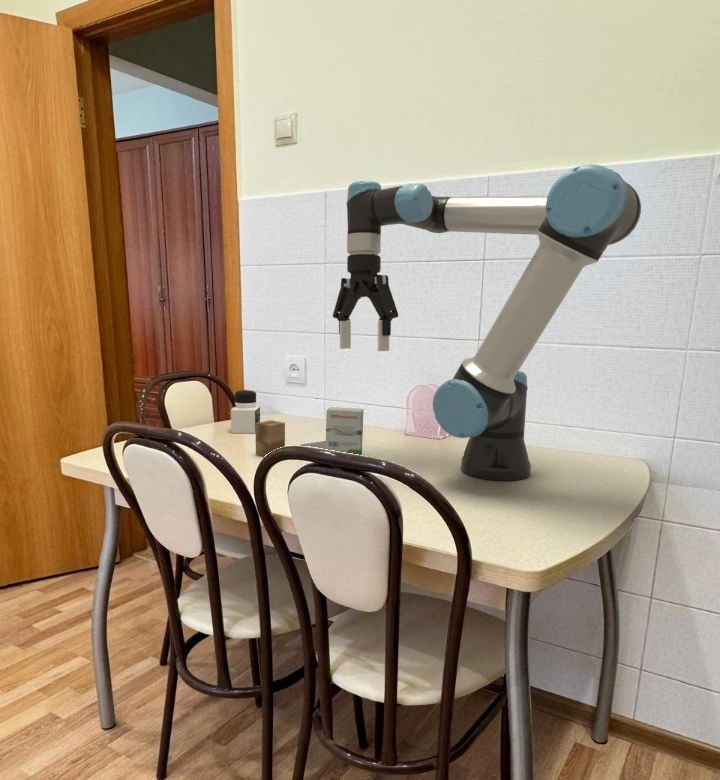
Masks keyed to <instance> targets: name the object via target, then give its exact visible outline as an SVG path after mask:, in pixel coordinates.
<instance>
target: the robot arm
mask: <svg viewBox="0 0 720 780" xmlns="http://www.w3.org/2000/svg"><path fill="white" fill-rule="evenodd" d="M346 197H347V200H346V212H347V213H346V214H347V215H346V217H347V235H346V237H347V238H346V252H347V253H348V256H347V258H346V259H347V260H346V261H347V264H346V268H347V273H348V274H350V278H348V277H345V278H344V277H342V278H341V280H340V289H339V292H338V296H337V299H336V302H335V306H334V309H333V312H332V318H334V319H336V320H337V321H338V335H339V349H341V350H345V349H351V348H352V347H351V346H352V345H351V343H352V339H351V337H352V336H351V335H352V334H351V333H352V332H351V331H352V330H351V329H352V328H351V327H352V326H351V325H352V322H351V319H350V318H351V315H352V313H353V312H354V310H355V307H356V305H357V303H358V301H359V300H360V299H362V298H365V297H366V298H368V299H369V300H370V302H371V304H372V306H373V308H374V310H375V311H376V314H377V316H378V317H379V318H378V320H377V352H389V351H390V336H391V334H392V333H391V331H392V330H391V328H392V321H393V319H397V318H398V317H399V313H398V309H397V306H396V303H395V300H394V298H393V295H392V290H391V288H390V284H389V275H385V274H379V273H380V272H381V268H382V267H381V263H382V262H381V260H382V259H381V256H380V255H379V254H380V253H381V251H382V250H381V242H382V239H381V236H382V226H383V227H384V226H392V225H405V226H408V227H412V228H417V229H420V230H421V229H422V230H425V231H428V232H430V233H432V234H434V233H435V234H444V233H447V232H450V233H452V232H456V233H457V232H458V233H460V232H461V233H480V234H483V233H484V234H485V233H486V234H504V235H505V234H507V235H533V236H534V235H537V237H538V240H539V244H538V245H539V246H538V247H537V249H536V250H535V252H534V254H533V255H532V258H530V261H529V262H528V264H527V266H526V267H525V269H524V270H523V273H522V274H521V276H520V278H519V280H518V281H517V282H516V285H515V286H514V288H513V290H512V291H511V293H510V294H509V297H508V298H507V300H506V302H505V304H504V305H503V307H502V309H501V310H500V312H499V314H497V317H496V319H495V321H494V323H493V324H492V326H491V328H490V330H489V331H488V333H487V335H486V336H485V338H484V339H483V341H482V343H481V345H480V347H479V348H478V350H477V351H476V353H475V355H474V356H472V357H467V358H465V359H463V361H461V364H460V365H459V367H458V369H457V370H456V372H455V373H454V375H453V378H452V379H448V380H446V381H444V382H443V383H442V384H440V386H439V387H438V388H437V389H436V391H435V392H434V395H433V400H432V410H433V412H434V417H435V420H436V421H437V424H438V425H439V427H440V428H441V429H442V430H443V431H444V432H446V434H448V435H450V436H451V437H455V438H460V439H468V438H469V439H468V441H467V444H466V446H465V450H464V451H463V456H462V457H461V462H460V470H461V471H462V472H463V473H464V474H466V475H469V476H471V477H474V478H477V479H478V478H479V479H485V480H492V481H517V480H524V479H526V478H529V477H530V476H531V470H532V469H531V468H532V467H531V465H532V463H531V462H530V459H529V455H528V449H527V446H526V442H525V427H526V411H527V398H528V397H527V396H528V393H527V392H528V389H529V388H528V376H527V374H526V373H525V372H523V371H520V369H521V367H522V366H523V365H524V362H525V361H526V359H527V358H528V356H529V355H530V353H531V351H532V350H533V348H534V347H535V345H536V344H537V342H538V340H539V339H540V337H541V335H542V334H543V333H544V331H545V330H546V327H547V326H548V325H549V323H550V321H551V319H552V318H553V317H554V315H555V314H556V312H557V311H558V308H559V307H560V306H561V304H562V302H563V301H564V299H565V298H566V296H567V294H568V293H569V291H570V290H571V288H572V286H573V285H574V283H575V281H576V279H577V278H578V276H579V275H580V274H581V272H582V270H583V269H584V268H585V267H586V266H589V265H593V264H596V263H598V262H599V260H600V259H601V257H602V256H603V254H604V252H605V251H606V249H607V248H608V246H610V245H611V246H612V245H615V244H617V243H619V242H621V241H623V240H624V239H626V238H627V237H628V236H630V235H631V234H632V232H633V231H634V230H635V229H636V226H637V225H638V223H639V220H640V218H641V214H642V204H641V199H640V196H639V194H638V193H637V190H636V189H635V188H633V186H632V185H631V184H629V183H628V182H627V181H625V179H624V178H623V177H622V176H621V175H620V174H619V172H617V171H614V170H613V169H611V168H608V167H606V166H602V165H600V164H594V163H593V164H583V165H582V164H581V165H579V166H576V167H574V168H571V169H569V170H568V171H566V172H565V173H563V174H562V175H560V176H559V177H558V179H557V180H556V181H555V182H554V183H553V185H552V186H551V188H550V190H549V192H548V194H547V195H509V196H508V195H506V196H505V195H502V196H501V195H500V196H499V195H498V196H497V195H496V196H495V195H493V196H491V195H490V196H485V195H484V196H482V195H481V196H435V195H432V193H431V190H429V189H428V187H427V186H426V185H425V184H424V183H413V184H412V183H407V184H404V185H399V186H394V187H393V186H392V187H388V188H382V185H381V184H380V183H379V182H377V181H374V180H358V181H357V180H356V181H354V182H352V183H350V184H349V186H348V188H347V196H346Z"/></svg>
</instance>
